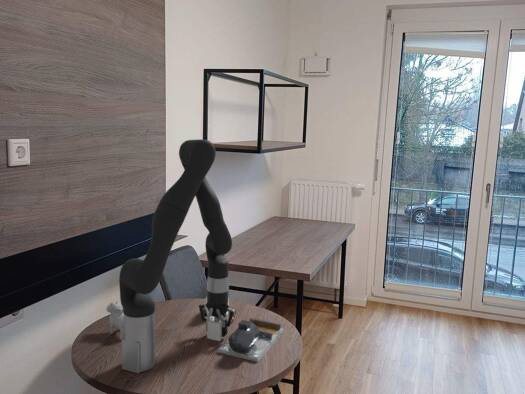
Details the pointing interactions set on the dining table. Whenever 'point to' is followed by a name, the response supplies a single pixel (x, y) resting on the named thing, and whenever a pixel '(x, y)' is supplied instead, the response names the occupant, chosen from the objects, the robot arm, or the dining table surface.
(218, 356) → the dining table surface
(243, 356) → the motor mount
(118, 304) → the dog figurine
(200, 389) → the dining table surface
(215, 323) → the cube with round knob
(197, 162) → the robot arm
